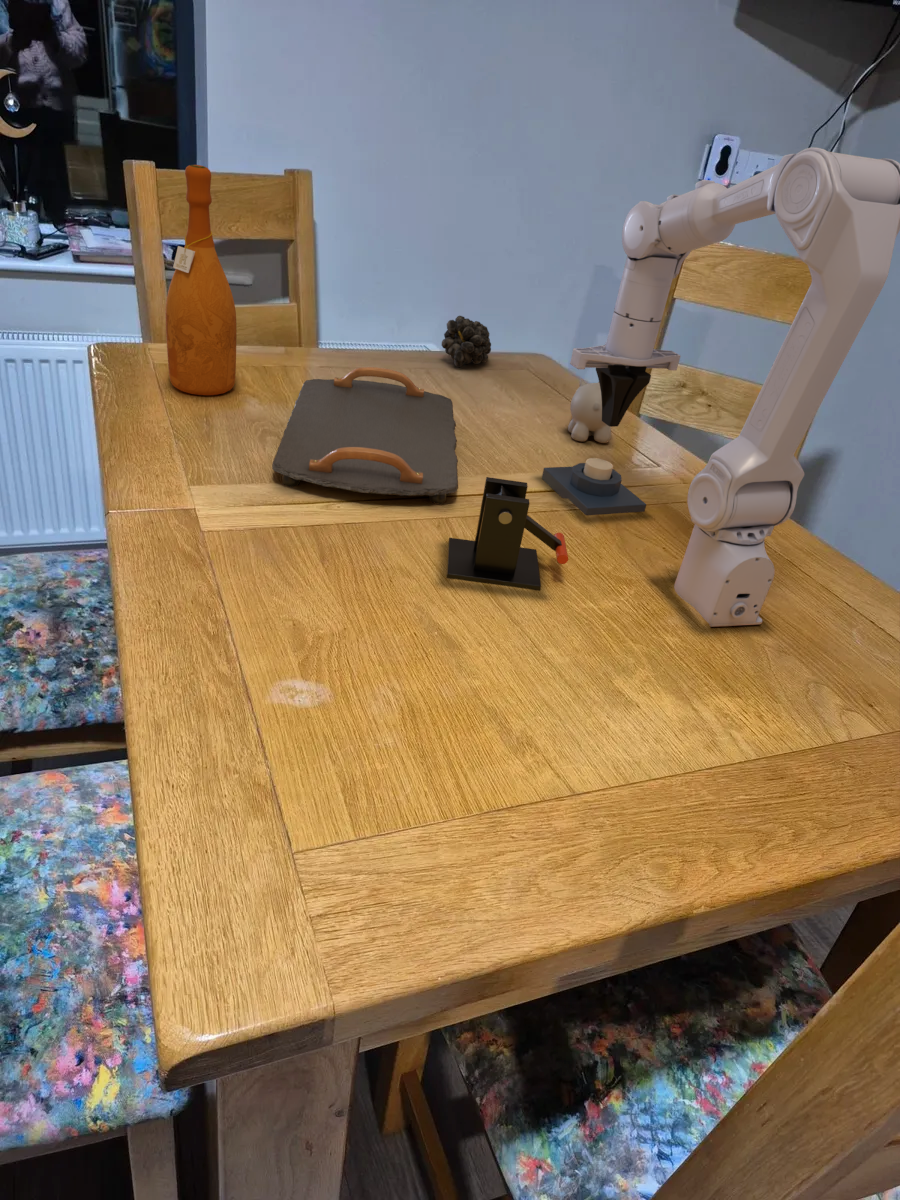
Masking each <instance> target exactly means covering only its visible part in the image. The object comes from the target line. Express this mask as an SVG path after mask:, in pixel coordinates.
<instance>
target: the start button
mask: <svg viewBox="0 0 900 1200" xmlns="http://www.w3.org/2000/svg"><path fill="white" fill-rule="evenodd" d="M584 463H585V467H584V471H583V474H585V475H586V476H588V477H590V478H593V479H597V480H609V479H610V477H611V473H612V469H614V464H612V463H611V461H608V460H606V459H603V458H599V457H590V458H587V459H586V460H585V462H584Z"/></svg>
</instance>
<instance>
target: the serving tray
mask: <svg viewBox="0 0 900 1200" xmlns="http://www.w3.org/2000/svg"><path fill="white" fill-rule="evenodd" d="M360 377H375V378H382V379H388V380H392V381H396V382H398V383H401V384H403V385H404V386H403V385H399V384H393V383H387V382H378V381H373V380H370V381H369V380H358V379H357V378H360ZM290 414H291V415H290V417H289V418H288V421H287V424H286V427H285V429H284V430H283V435H282V437H281V439H280V443H279V446H278V447H277V450H276V454H275V455H274V458H273V461H272V464H271V469H272V471H273V472H275V473H278V474H280V475H282V476H281V483H282V485H284V486H287V487H297V486H299V485H300V481H303V482H307V483H310V484H313V485H317V486H321V487H327V488H332V489H333V488H334V489H338V490H344V491H345V490H346V491H350V492H354V493H362V494H370V495H371V494H373V495H386V496H387V495H393V496H407V497H408V496H409V497H410V496H428V500H429V501H430V502H431V503H433V504H437V505H443V504H445V503H446V501H447V495H448V494H454V493H456V492H458V489H459V476H458V475H459V474H458V463H459V460H458V456H457V454H456V453H457V452H456V448H457V444H458V443H457V442H458V440H457V436H456V432H455V430H456V426H457V422H456V420H455V418H454V404H453V401H452V399H451V398H449V397H447V396H445V395H443V394H437V393H432V392H429V391H425V388H420V387H417V385H416V384H415V383H414V382H413V381H412V379H411V378H410V377H409V376H408V375H406V374H405V373H403V372H399V371H397V370H394V369H390V368H385V367H376V366H361V367H356V368H354V369H352V370H350V371H349V372H348V373H346V374H345V375H344V376H342V377H334V379H333V378H332V379H323V378H313V379H306V380H305V381H304V382H303V384H302V386H301V389H300V390H299V393H298V397H297V399H296V400H295V404H294V407H293V409H292V410H291V413H290Z"/></svg>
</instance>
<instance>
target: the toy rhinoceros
mask: <svg viewBox="0 0 900 1200" xmlns="http://www.w3.org/2000/svg"><path fill="white" fill-rule="evenodd" d="M569 409H570V413H571V414H570V415H571V417H572V419H571V420H570V421H569V423H568V426H567V431H568V432H569V433H570V434H571V435H570V437H571V438H572V439H573V440H575V441H578V442H586V441H587V440H588V438H589V437H591V436H593V439H594V441H596V442H598V443H599V444H600V443H601V444H606V443H608V442H609V441H610V440H611V437H612V428H611V427H610V426H608V425H607V424H605V423H604V422H602V397H601V389H600V383H599V381H597V382H591V383H587V382H586V381H585V380H584V378H580V380H579V387H577V389H576V390H575V392H574V394H573V396H572V398H571V401H570V407H569Z"/></svg>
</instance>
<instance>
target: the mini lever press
mask: <svg viewBox="0 0 900 1200" xmlns="http://www.w3.org/2000/svg"><path fill="white" fill-rule="evenodd" d="M501 486H503V487H505V488H506V489H507V490H508V491H510V492H511V493H512V494H514V495H515V496H516V497H510V496H503V495H496V494H494V493H495V492H496V491H497V490H498V489H499V488H500V487H501ZM528 487H529V486H528V482H524V481H517V480H511V479H504V478H503V479H502V478H496V477H489V476H486V478H485V482H484V488H483V494H482V498H481V499H482V500H481V505H480V510H479V516H478V520H477V528H476V533H475V538H474V540H470V539H463V538H456V537H448V543H447V545H448V547H447V559H446V560H447V562H446V563H447V564H446V579H451V580H460V581H464V582H465V581H466V582H473V583H481V584H488V585H496V586H503V587H508V588H509V587H510V588H518V589H524V590H533V591H541V588H542V583H541V576H540V568H539V559H538V551H537V549H535V548H528V547H521V545H522V542H523V536H524V532H525V528H524V527H525V523H526V518H527V515H528V513H529V508H530V504H531V503H530V499H529V498H526V496H527V492H528ZM517 497H518V498H517Z"/></svg>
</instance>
